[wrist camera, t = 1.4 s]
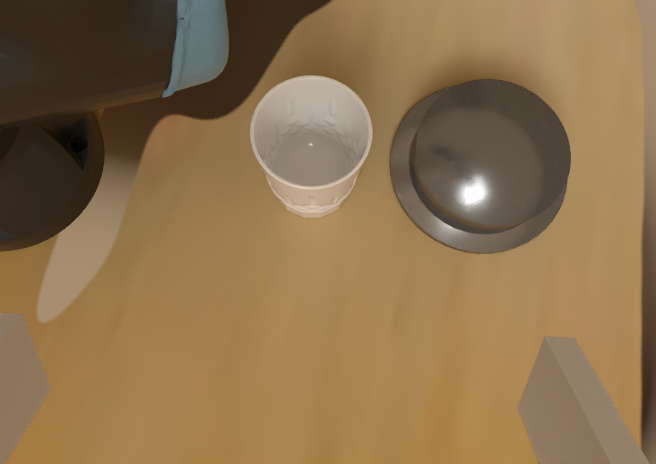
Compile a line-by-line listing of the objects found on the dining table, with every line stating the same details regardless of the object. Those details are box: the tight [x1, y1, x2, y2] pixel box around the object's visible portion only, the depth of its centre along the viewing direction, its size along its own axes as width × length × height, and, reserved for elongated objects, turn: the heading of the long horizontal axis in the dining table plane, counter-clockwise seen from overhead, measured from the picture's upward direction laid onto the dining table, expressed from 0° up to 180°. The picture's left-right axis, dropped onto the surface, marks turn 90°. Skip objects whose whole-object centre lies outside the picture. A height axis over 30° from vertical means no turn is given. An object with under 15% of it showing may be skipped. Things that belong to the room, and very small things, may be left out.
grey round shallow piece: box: [390, 79, 571, 254], centre depth 39 cm, size 15×15×4 cm
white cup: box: [250, 75, 373, 218], centre depth 36 cm, size 8×8×10 cm
